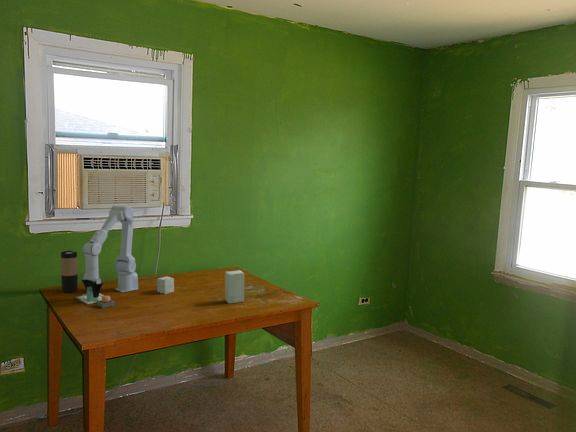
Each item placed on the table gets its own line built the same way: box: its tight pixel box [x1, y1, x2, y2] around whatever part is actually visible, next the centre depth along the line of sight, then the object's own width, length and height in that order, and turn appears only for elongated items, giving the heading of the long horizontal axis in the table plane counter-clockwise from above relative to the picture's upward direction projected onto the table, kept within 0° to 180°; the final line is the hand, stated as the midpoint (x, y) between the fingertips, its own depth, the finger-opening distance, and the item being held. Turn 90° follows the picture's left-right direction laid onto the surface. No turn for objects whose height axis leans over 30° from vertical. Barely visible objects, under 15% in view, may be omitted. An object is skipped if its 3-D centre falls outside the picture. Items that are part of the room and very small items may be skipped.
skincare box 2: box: [224, 269, 245, 304], centre depth 238 cm, size 8×6×15 cm
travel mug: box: [60, 250, 79, 294], centre depth 247 cm, size 8×8×20 cm
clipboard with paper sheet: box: [74, 292, 114, 306], centre depth 235 cm, size 12×15×1 cm
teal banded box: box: [86, 287, 98, 301], centre depth 232 cm, size 4×4×6 cm
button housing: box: [96, 298, 116, 309], centre depth 226 cm, size 6×6×2 cm
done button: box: [102, 295, 111, 303], centre depth 226 cm, size 4×4×3 cm
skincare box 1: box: [157, 276, 175, 295], centre depth 251 cm, size 6×6×7 cm
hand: (92, 295), depth 232 cm, fingers open, 7 cm apart
